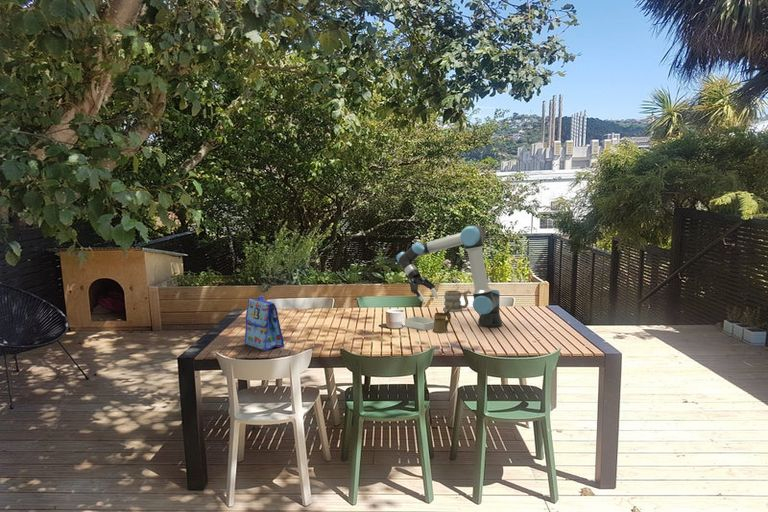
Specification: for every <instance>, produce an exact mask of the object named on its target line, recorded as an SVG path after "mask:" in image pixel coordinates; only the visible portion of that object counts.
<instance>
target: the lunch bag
mask: <svg viewBox="0 0 768 512" xmlns="http://www.w3.org/2000/svg"><path fill="white" fill-rule="evenodd" d="M244 330H245V332H244V334H245V335H244V345H247V346H250V347H253V348H255V349H258V350H261V351H264V352H267V351H269V350H271V349H273V348H275V347H277V348H284V347H285V343H284V336H283V332H282V329H281V324H280V320H279V313H278V308H277V306H276V304H275V303H274V302H271V301H269V300H265V298H264V295H258V296H257V299H256V298H248V299H247V307H246V313H245V329H244Z"/></svg>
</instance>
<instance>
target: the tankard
mask: <svg viewBox="0 0 768 512" xmlns="http://www.w3.org/2000/svg"><path fill="white" fill-rule="evenodd" d="M468 294H469V295H471V294H473V292H472V291H470V290H469V289H468V290H467V291H464V292H461V291H459V290H446V291H445V292H444V295H443V296H444V297H443V298H444V302H443V303H444V307H443V312H447V310H448V309H449V307H450V306H451V304H452V303H455V304H454V306H453V307H452V308H451V310H450V311H449V312H450V313H459V312H461V311H462V310H463V309H467V307H468V306H469V299H468V296H467V295H468ZM461 295H462V296H463V299H464V302H465V303H464V305H462V301H461V298H462V296H461Z"/></svg>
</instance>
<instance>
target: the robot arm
mask: <svg viewBox="0 0 768 512" xmlns="http://www.w3.org/2000/svg"><path fill="white" fill-rule="evenodd" d="M485 238H486V232H485V229H484V228H483V227H482V226H481V225H476V224H475V225H469V226H466V227H464V228H463V229H462V230H461V232H459V233H455V234H453V235H452V234H451V235H447V236H444V237H440V238H437V239H434V240H431V241H427V242H424V243H421V242H419V241H417V242H414V244H412V245H411V247H410V248H409V249H407V250H406V252H405V251H401V252H399V253H398V254H397V255H396V258H395V260H396V261H397V263H398V264H399V265H400V267H401V268H402V270H403V271H404V272H405V274H406V275H407V277H408V278H409V280H408V283H409V286H410V291H411V293H413V295H416V297H418V299H419V300H420V302H424V300H425V298H424V296H423V294H422V292H421V291H420V290H419V289H418V288H419V286H423V287H426V288H427V289H429V290H430V292H431V293H432V295H433V296H434V297H435V299H438V297H439V296H440V295H439V293H438V291H437V290H436V289H435V288H436V285H435V284H434V283H433V282H431V280H429V279H428V278H427V277H426V276H423V277H422V276H421V273H420V271H419V270H418V268H417V267H416V266H415V264H414V263H413V262H414V261H415V260H416V259H418V258H419V257H420V256H421V257H422V256H425V255H428V254H433V253H435V252H440V251H443V250H446V249H451V248H454V247H457V246H461V245H463V247H464V250H465V251H466V252H467V255H468V260H469V266H470V270H471V271H470V272H471V277H472V283H473V286H474V287H473V289H474V291H473V292H472V296H473V301H472V308H473V309H474V311H475V312H476V313H478V314H480V315H479V318H478V321H477V324H478V325H477V326H479V327H482V328H488V329H495V328H500V327H501V328H502V326H503V321H502V316H501V315H500V296H501V295H500V290H497V289H491V288H490V287H489V282H488V276H487V271H486V264H485V260H484V254H483V248H484V239H485Z"/></svg>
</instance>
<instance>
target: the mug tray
mask: <svg viewBox="0 0 768 512" xmlns="http://www.w3.org/2000/svg"><path fill="white" fill-rule="evenodd" d="M404 319H405V325H404V326H403V327H405V328H410V329H414V330H419V331H424V332H426V331H429V330H433V328H434V319H435V318H429V317H428V318H427V317H424V316H423V317H422V316H417V315H416V316H411V317H408V318H404Z"/></svg>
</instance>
